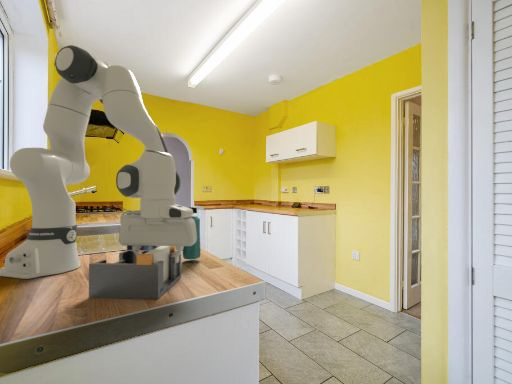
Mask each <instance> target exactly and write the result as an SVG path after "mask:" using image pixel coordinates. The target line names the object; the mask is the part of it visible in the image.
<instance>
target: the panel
mask: <svg viewBox="0 0 512 384" xmlns="http://www.w3.org/2000/svg"><path fill="white" fill-rule="evenodd" d="M145 254H153V264H155V263H156V262H158V261H163V282H164V281H166V280H167V279H168V278H169V277H170V246H157V248H155V249H153V250H151V251H149V252H147V253H145Z"/></svg>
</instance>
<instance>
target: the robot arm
mask: <svg viewBox="0 0 512 384" xmlns="http://www.w3.org/2000/svg"><path fill="white" fill-rule="evenodd" d="M54 66H55V71H56V72H57V74H58V75H59V76H60V77H61V78H60V79H59V80H58V81H57V83H56V85H55V87H54V89H53V91H52V93H51V96H50V99H49V102H48V106H47V109H46V114H45V118H44V120H43V125H42V129H43V131H44V133H45V134H46V136H47V137H48V140H49V148H50V149H49V148H44V147H23V148H20V149H18V150H16V151H15V152H14V153H13V154H12V155H11V157H10V160H9V168H10V171H11V173H12V174H13V175H14V176H15V177H16V178H17V179H19V180H20V181H21V183H22V184H23V185H24V187H25V189H26V191H27V193H28V196H29V199H30V203H31V216H32V217H31V218H32V219H31V220H32V221H31V222H32V224H31V225H32V226H31V228H30V229H26V230H24V233H23V235H27V236H26V238H25V239H26V240H24V241H23V242H22V243H20V244H18V246H16V247H15V248H14V249H12V250H10V251H9V252H8V253H7V254H6V256H5V260H4V267H1V268H0V277H6V278H15V279H24V280H28V279H29V280H30V279H34V278H38V277H44V276H50V275H58V274H62V273H66V272H70V271H73V270H76V269H79V268H80V267H82V263H81V260H80V256H79V252H78V246H77V236H78V225H77V224H76V223H77V222H76V221H77V219H76V215H77V214H76V213H77V211H76V206H77V205H76V201H75V200H74V199H73V198H72V197H71V196H70V194H69V192H68V190H67V189H68V188H67V186H73V185H77V184H81V183H83V182H85V181H87V179H88V178H89V177H90V174H91V168H90V165H89V163H88V162H87V160H86V159H87V158H86V152H85V150H86V149H85V139H86V138H85V137H86V133H87V129H88V125H89V122H90V117H91V112H92V109H93V105H94V103H95V102H97V101H99V102H100V103H101V104H102V107H103V111H104V115H105V116H106V119H107V120H108V121H109V123H110V124H111V125H112V126H114V127H115V128H116V129H117V130H119V131H121V132H123V133H125V134H127V135H129V136H131V137H133V138H135V139H136V140H137V141H139V142H140V143H141V144H142V145H144V147H145V148H146V150H144V151H142V153H141V155H140V157H139V158H138V159H137V160H135V161H133V162H131V163H130V164H124V165H123V166H122V167H120V169H119V170H118V171H117V172H116V177H115V184H116V185H115V186H116V188H117V190H118V192H119V193H120V194H121V195H122V196H124V197H126V198H129V199H130V198H131V199H140V200H139V201H140V203H139V204H140V205H139V210H138V209H137V210H126V211H124V212H123V213H122V214H121V215H120V217H119V218H120V219H119V221H120V222H119V223H120V226H119V230H118V232H119V233H118V243H119V244H120V246H126V247H127V246H132V250H133V252H134V253H135V255H136V256H137V254H142V252H141V250H140V248H141V246H157V247H160V246H175V251H177V253H176V254H175V255H173V256H172V257H171V259H172V261H171V262H172V263H178V262H179V255H180V254H181V255H182V252H183V251H182V250H183V246H192V245H193V244H194V243H195V242H196V240H197V232H196V224H195V221H194V219H193V218H191V216H194V213H193V210H192V209H190V208H189V207H188V206H183V205H181V204H178V203H176V195H177V193H178V192H179V190H180V188H181V178H180V175H179V173H178V171H177V170H176V162H175V159H174V157H173V155H172V154H171V153H169V152H168V149H167V146H166V144H165V143H166V142H165V140H164V138H163V136H162V132H161V131H160V129H159V127H158V125H157V124H156V122H155V121H153V119H152V118H151V116H150V115H149V113H148V110H147V108H146V107H145V104H144V101H143V96H142V92H141V89H140V86H139V84H138V82H137V80H136V77H135V75H134V73H133V72H132V71H131V70H130V69H128V68H126V67H125V66H122V65H115V64H114V65H110V64H108V63H107V62H106V61H103V60H102V59H99V58H97V56H95V55H93V54H91V53H89V52H88V51H87V50H85V49H83V48H81V47H80V46H79V47H78V46H76V45H73V44H72V45H71V44H70V45H67V46H63V47H62V48H61V49H60V50H59V51H58V52H57V54H56V56H55V59H54Z"/></svg>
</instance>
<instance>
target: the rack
mask: <svg viewBox="0 0 512 384" xmlns="http://www.w3.org/2000/svg"><path fill="white" fill-rule="evenodd" d="M149 251H151V250H141V252H142V254H137V256H136V255H135V253H134V252H133V250H127V249H125V250H123V251H121V252H119V253H118V258H119V259H118V261H116V262H111V263H110V262H107V259H100V260H98V261H95V262H91V263H89V264H88V298H91V299H93V298H94V299H95V298H96V299H129V300H131V299H135V300H139V299H141V300H159V299H160V298H161V297H162V296H163V295H164V294H165V293H166V292H167V291H169V290H170V289H171V287H173V286H174V285H175V284H176V283H177V282H178V281H179V280H180V279H181V278H182V253H181V254H180V255H179V262H178V263H172V262H171V261H172V259H171V257H172V256H173V255H175V254H176V253H177V251H178V250H176V247H175V246H170V277H169V278H168V279H167V280H166V281H164V282H163V261H158V262H156V263H155V264H153V254H145V253H147V252H149Z"/></svg>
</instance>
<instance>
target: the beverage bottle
mask: <svg viewBox="0 0 512 384" xmlns="http://www.w3.org/2000/svg"><path fill="white" fill-rule="evenodd" d="M188 208H190V209H192V210H193V214H198V211H197V207H195V206H191V207H188ZM191 218H193V219H194V221H195V224H196V232H197V240H196V242H195V243H194V244H193V245H192V246H183V250H182V252H181V254H182V258H183V259H184V260H196V259H197V260H198V259H199V258H201V257H200V256H201V218H199V216H195V215H192V216H191Z"/></svg>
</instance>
